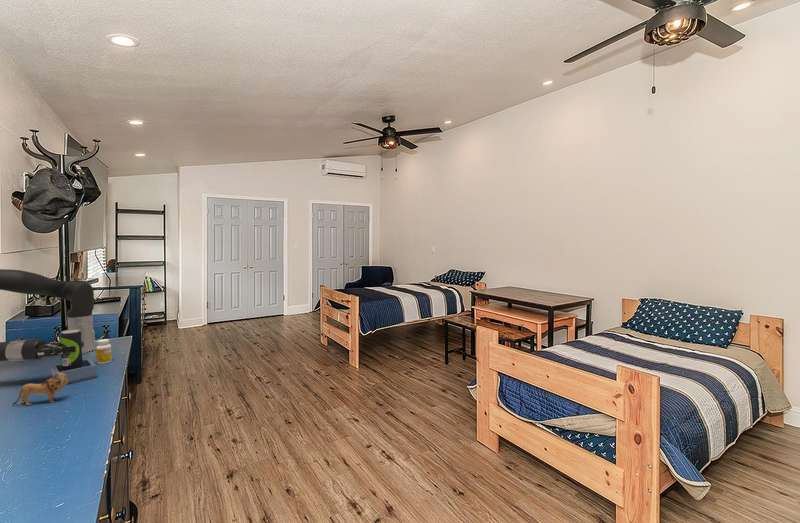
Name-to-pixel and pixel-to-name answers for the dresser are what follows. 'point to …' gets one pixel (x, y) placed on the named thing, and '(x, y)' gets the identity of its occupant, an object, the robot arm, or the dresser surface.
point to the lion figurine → (43, 388)
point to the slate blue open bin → (77, 371)
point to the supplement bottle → (103, 351)
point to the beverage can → (73, 358)
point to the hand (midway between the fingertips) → (79, 346)
